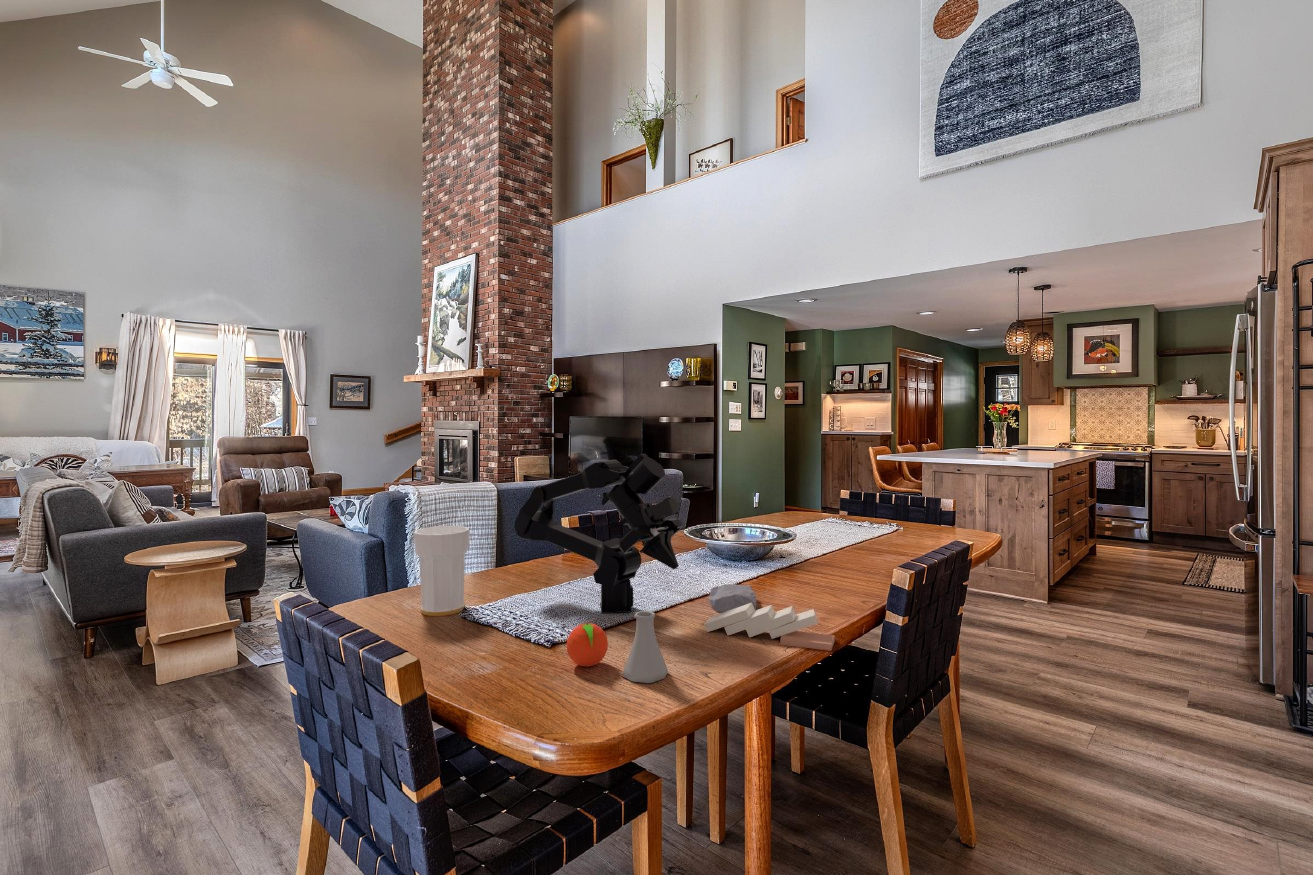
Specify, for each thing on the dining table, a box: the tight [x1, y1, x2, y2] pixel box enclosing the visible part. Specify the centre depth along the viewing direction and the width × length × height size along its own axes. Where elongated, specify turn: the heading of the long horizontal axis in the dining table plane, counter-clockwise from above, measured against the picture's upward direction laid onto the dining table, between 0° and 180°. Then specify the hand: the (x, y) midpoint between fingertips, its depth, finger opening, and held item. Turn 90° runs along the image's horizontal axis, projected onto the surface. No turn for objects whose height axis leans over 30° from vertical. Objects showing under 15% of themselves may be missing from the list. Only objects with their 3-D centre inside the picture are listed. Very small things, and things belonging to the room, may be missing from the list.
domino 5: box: [780, 630, 835, 652], centre depth 117 cm, size 2×5×9 cm
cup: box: [413, 525, 470, 617], centre depth 138 cm, size 11×11×17 cm
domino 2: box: [724, 604, 776, 636], centre depth 122 cm, size 2×5×9 cm
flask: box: [621, 610, 669, 684], centre depth 103 cm, size 7×7×10 cm
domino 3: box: [745, 605, 796, 638], centre depth 121 cm, size 2×5×9 cm
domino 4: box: [768, 608, 819, 640], centre depth 120 cm, size 2×5×9 cm
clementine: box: [566, 622, 609, 667], centre depth 106 cm, size 8×7×7 cm
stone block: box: [708, 583, 757, 613], centre depth 141 cm, size 12×5×10 cm
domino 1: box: [703, 603, 755, 633], centre depth 124 cm, size 2×5×9 cm
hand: (676, 567), depth 130 cm, fingers closed
